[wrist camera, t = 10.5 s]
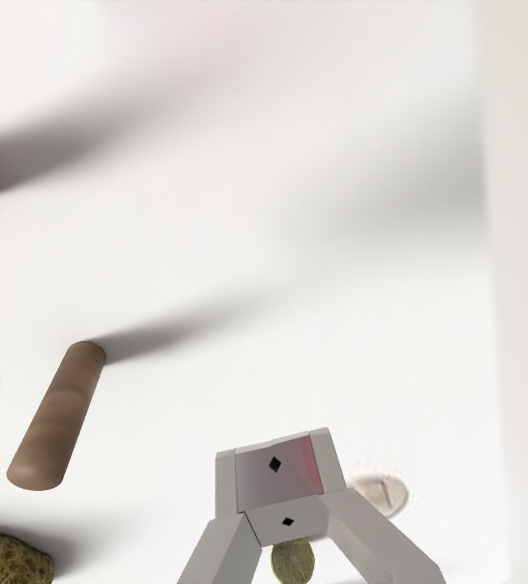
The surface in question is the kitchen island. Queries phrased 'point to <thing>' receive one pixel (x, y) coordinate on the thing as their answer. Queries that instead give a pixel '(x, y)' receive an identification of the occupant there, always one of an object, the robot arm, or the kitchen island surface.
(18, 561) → the rock
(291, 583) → the lime
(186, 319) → the kitchen island surface
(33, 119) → the kitchen island surface
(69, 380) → the post outer
